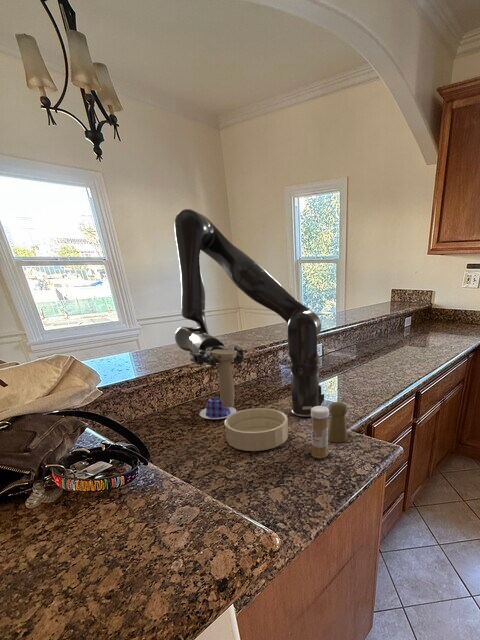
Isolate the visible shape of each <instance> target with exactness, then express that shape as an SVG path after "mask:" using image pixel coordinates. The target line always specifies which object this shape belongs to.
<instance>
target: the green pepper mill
mask: <svg viewBox="0 0 480 640" xmlns="http://www.w3.org/2000/svg"><path fill="white" fill-rule="evenodd" d="M329 404H330V405H329V407H328V409H329V414H330V418H329V422H328V442H332V443H336V444H337V443H344V442H346V441H347V440H348V430H347V420H346V414H347V413H348V405H347V404H346V403H345V402H343V401H332V402H331V403H329Z"/></svg>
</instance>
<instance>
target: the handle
mask: <svg viewBox="0 0 480 640" xmlns="http://www.w3.org/2000/svg"><path fill="white" fill-rule="evenodd" d="M211 356H213V357H214V358H215V359H216V360H217V361H218V363H217V366H218V367H217V368H218V390H219V395H220V396H219V397H221V400H222V406H224V407H226V408H227V407H234V406H235V395H236V393H235V380H234V374H233V366H232V361H233V360H232V359H234V358H235V357H236V356H237V354H236V351H233V350H226V349H217V350H213V351H211ZM231 360H232V361H231Z"/></svg>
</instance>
